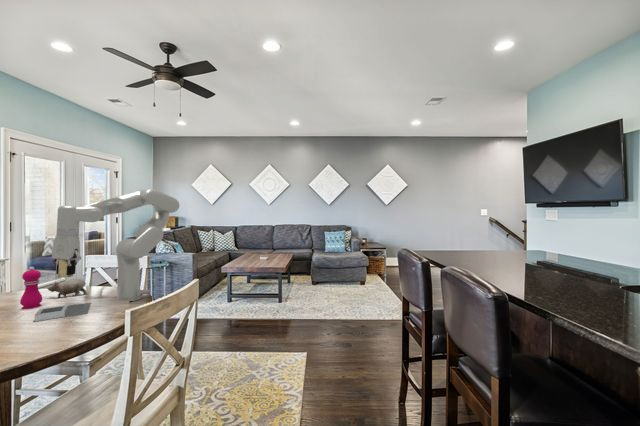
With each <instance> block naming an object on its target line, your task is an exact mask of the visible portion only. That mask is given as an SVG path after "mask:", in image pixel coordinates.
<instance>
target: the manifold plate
mask: <svg viewBox="0 0 640 426" xmlns="http://www.w3.org/2000/svg"><path fill="white" fill-rule="evenodd" d="M91 305H92V302H85V303H77V304H69V305H68V304H66V305H60V306H52V307H51V306H50V307H44V308H39V310H37V312H36V313H35V314H34V320H33V321H32V323H38V322H43V321H51V320H57V319H64V318H70V317H77V316H83V315H88V313H89V311H90V307H91Z"/></svg>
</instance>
